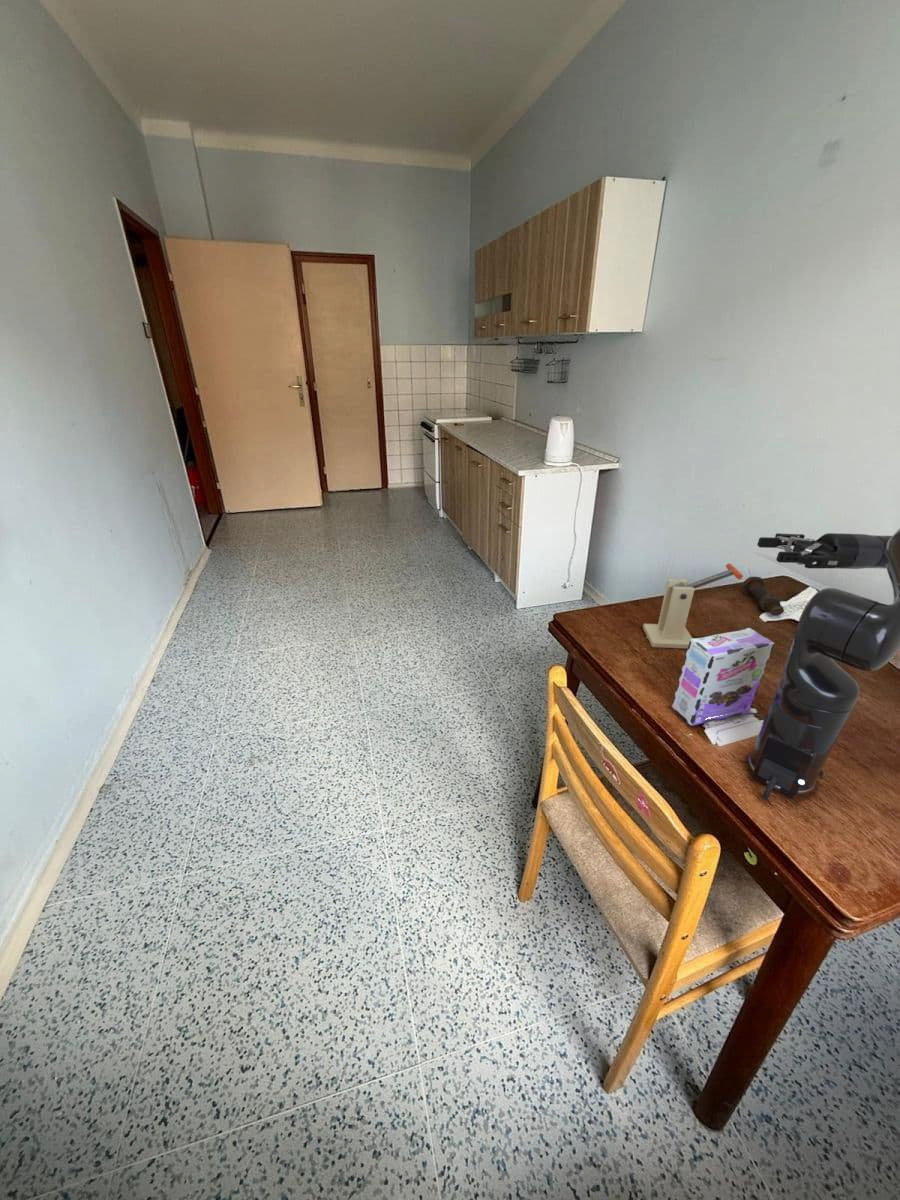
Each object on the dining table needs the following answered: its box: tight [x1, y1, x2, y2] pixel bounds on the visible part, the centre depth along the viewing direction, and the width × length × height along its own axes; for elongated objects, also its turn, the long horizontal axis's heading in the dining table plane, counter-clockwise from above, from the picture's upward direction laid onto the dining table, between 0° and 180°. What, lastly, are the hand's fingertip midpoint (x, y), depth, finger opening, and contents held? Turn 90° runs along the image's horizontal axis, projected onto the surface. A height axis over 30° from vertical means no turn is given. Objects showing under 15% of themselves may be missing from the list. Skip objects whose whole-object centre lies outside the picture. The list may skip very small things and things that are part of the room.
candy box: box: [671, 627, 775, 727], centre depth 89 cm, size 14×6×16 cm, turn 105°
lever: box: [671, 563, 744, 591], centre depth 108 cm, size 14×6×2 cm, turn 84°
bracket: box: [642, 578, 696, 649], centre depth 112 cm, size 10×9×15 cm
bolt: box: [741, 576, 785, 617], centre depth 128 cm, size 6×5×15 cm
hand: (768, 549), depth 103 cm, fingers open, 8 cm apart
